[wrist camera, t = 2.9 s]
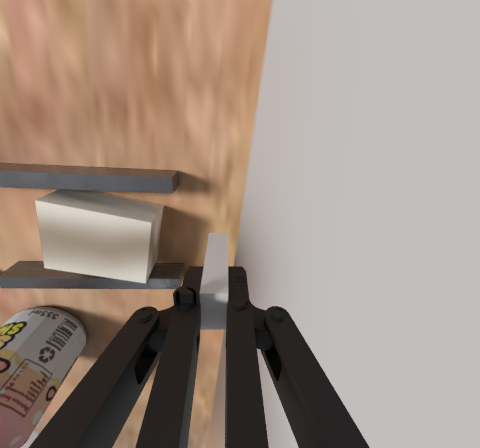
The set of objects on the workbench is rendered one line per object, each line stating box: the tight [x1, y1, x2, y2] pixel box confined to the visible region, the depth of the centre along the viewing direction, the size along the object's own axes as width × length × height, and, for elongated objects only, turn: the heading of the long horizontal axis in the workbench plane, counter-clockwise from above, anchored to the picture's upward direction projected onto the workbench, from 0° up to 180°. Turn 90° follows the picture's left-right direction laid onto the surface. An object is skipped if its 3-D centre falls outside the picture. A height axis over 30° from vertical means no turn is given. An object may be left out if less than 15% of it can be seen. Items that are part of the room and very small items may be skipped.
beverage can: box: [0, 307, 86, 448], centre depth 21 cm, size 9×8×12 cm
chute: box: [0, 163, 185, 289], centre depth 20 cm, size 11×16×2 cm
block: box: [35, 189, 164, 283], centre depth 20 cm, size 6×8×4 cm
